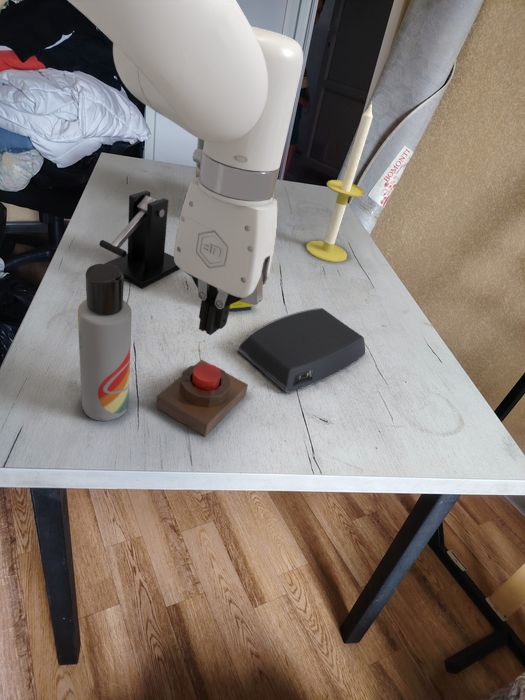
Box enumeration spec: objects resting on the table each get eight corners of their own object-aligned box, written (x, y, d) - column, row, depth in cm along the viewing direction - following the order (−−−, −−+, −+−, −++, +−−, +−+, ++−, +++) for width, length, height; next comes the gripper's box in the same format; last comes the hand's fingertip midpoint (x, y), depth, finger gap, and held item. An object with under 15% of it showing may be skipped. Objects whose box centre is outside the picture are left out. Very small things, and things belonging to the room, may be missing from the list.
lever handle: (124, 261, 80) (119, 252, 78) (102, 250, 82) (96, 241, 80) (166, 211, 84) (162, 202, 82) (144, 202, 86) (140, 192, 84)
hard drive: (232, 348, 76) (236, 328, 74) (313, 318, 88) (319, 299, 86) (288, 398, 70) (295, 377, 67) (367, 358, 81) (375, 339, 79)
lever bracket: (142, 288, 85) (146, 215, 77) (104, 269, 87) (103, 196, 79) (183, 266, 94) (191, 199, 86) (147, 249, 96) (151, 182, 88)
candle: (352, 252, 115) (402, 106, 96) (338, 266, 107) (389, 111, 88) (315, 237, 118) (356, 92, 98) (299, 250, 110) (340, 95, 91)
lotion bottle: (136, 411, 62) (143, 277, 50) (94, 428, 58) (91, 288, 47) (115, 385, 65) (116, 252, 53) (74, 399, 61) (66, 261, 49)
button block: (205, 437, 61) (209, 415, 58) (155, 407, 63) (157, 385, 61) (245, 395, 68) (250, 374, 66) (200, 370, 71) (203, 349, 68)
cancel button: (208, 395, 62) (210, 385, 61) (186, 382, 63) (187, 372, 62) (224, 381, 64) (226, 371, 63) (202, 369, 65) (203, 359, 64)
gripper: (154, 157, 46) (142, 313, 57) (286, 213, 42) (247, 370, 53) (199, 148, 52) (181, 292, 63) (320, 196, 48) (278, 341, 59)
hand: (211, 327), depth 58 cm, fingers closed
